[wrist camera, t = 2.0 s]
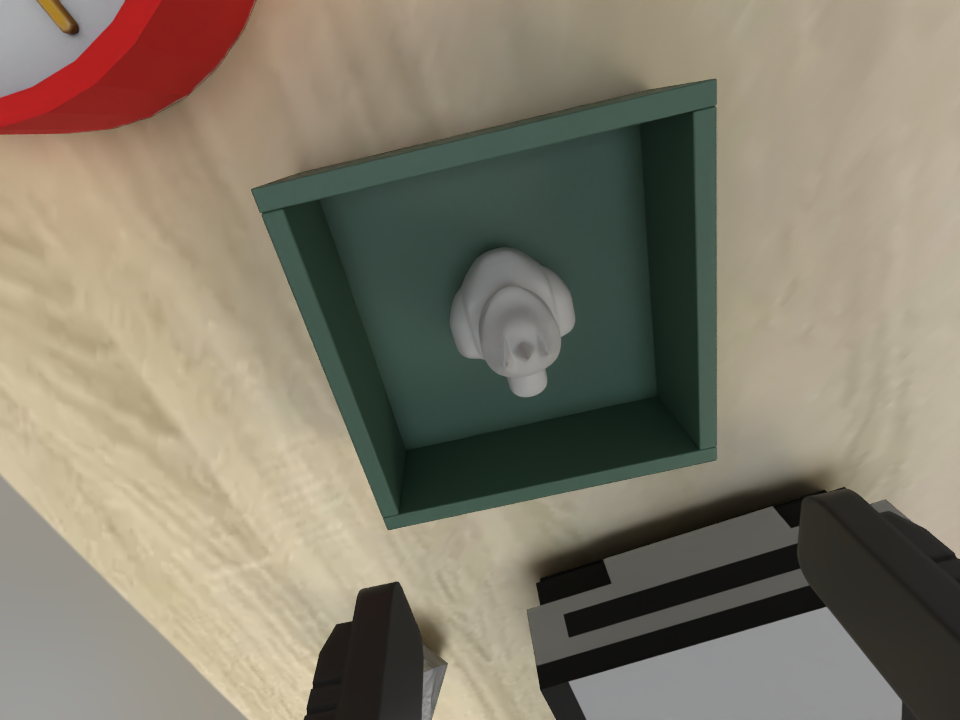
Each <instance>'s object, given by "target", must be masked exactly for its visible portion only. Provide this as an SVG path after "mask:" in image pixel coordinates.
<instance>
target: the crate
mask: <svg viewBox="0 0 960 720" xmlns="http://www.w3.org/2000/svg"><path fill="white" fill-rule="evenodd" d="M716 104H717V80H716V79H710V80H704V81H698V82H692V83H686V84H680V85H674V86H668V87H662V88H656V89H650V90H646V91H642V92H638V93H633V94H629V95H625V96H621V97H617V98H612V99H608V100H604V101H600V102H596V103H591V104H587V105H583V106H579V107H575V108H570V109H566V110H562V111H558V112H554V113H550V114H545V115H541V116H537V117H533V118H529V119H524V120H520V121H516V122H512V123H508V124H503V125H499V126H495V127H491V128H487V129H482V130H478V131H474V132H470V133H466V134H461V135H457V136H453V137H449V138H445V139H440V140H436V141H432V142H428V143H424V144H419V145H415V146H411V147H407V148H403V149H398V150H394V151H390V152H386V153H382V154H377V155H373V156H369V157H365V158H361V159H356V160H352V161H348V162H344V163H340V164H335V165H331V166H327V167H323V168H319V169H315V170H310V171H306V172H302V173H298V174H295V175H291V176H288V177H286V178H283V179H280V180H277V181H274V182H271V183H268V184H265V185H262V186H259V187H256V188H253V189H251V191H252V194H253V196H254V199H255V201H256V204H257V206H258V209H259V211H260V213H262V218H263V220H264V223H265V225H266V228H267V230H268V233H269V235H270V238H271V240H272V243H273V245H274V248H275V250H276V253H277V255H278V258H279V260H280V263H281V265H282V268H283V270H284V273H285V275H286V278H287V280H288V283H289V285H290V287H291V290H292V292H293V295H294V297H295V300H296V302H297V305H298V307H299V310H300V312H301V315H302V317H303V320H304V322H305V325H306V327H307V330H308V332H309V335H310V337H311V340H312V342H313V345H314V347H315V350H316V352H317V355H318V357H319V360H320V362H321V365H322V367H323V370H324V372H325V375H326V377H327V380H328V382H329V385H330V387H331V390H332V392H333V395H334V397H335V400H336V402H337V405H338V407H339V410H340V412H341V415H342V417H343V420H344V422H345V425H346V427H347V430H348V432H349V435H350V437H351V440H352V442H353V445H354V447H355V450H356V452H357V455H358V457H359V460H360V462H361V465H362V467H363V470H364V472H365V475H366V477H367V480H368V482H369V485H370V487H371V490H372V492H373V495H374V497H375V500H376V502H377V505H378V507H379V510H380V512H381V515H382V517H383V520H384V522H385V525H386V527H387V530H392V529H396V528H401V527H406V526H410V525H415V524H420V523H425V522H429V521H434V520H439V519H443V518H448V517H453V516H457V515H462V514H467V513H471V512H476V511H481V510H486V509H490V508H495V507H500V506H504V505H509V504H514V503H518V502H523V501H528V500H532V499H537V498H542V497H546V496H551V495H556V494H561V493H565V492H570V491H575V490H579V489H584V488H589V487H593V486H598V485H603V484H607V483H612V482H617V481H622V480H626V479H631V478H636V477H640V476H645V475H650V474H654V473H659V472H664V471H668V470H673V469H678V468H682V467H687V466H692V465H697V464H701V463H706V462H711V461H715V460H716V459H717V447H716V446H717V305H716V107H715V105H716ZM501 247H509V248H515V249H517V250H519V251H521V252H523V253H525V254H526V255H528V256H530V257H531V258H533V259H534V260H535V261H537V262H538V263H539V264H540V265H542V266H544V267H547V268H549V269H550V270H552V271H553V272H555V273H556V274H557V275H558V276H559V277H560V279H561V280H562V281H563V282H564V283H565V285H566V286H567V288H568V289H569V291H570V293H571V297H572V302H573V308H574V313H575V324H574V327H573V328H572V330H571V331H570V332H568V333H567V334H565V335H564V336H562V337H561V348H560V352H559V355H558V357H557V359H556V360H555V361H554V362H553V363H552V364H551V365H550V366H548V367H547V368H546V369H545V370H546V374H547V385H546V387H545V389H544V390H543V391H542V392H541V393H539V394H537V395H535V396H532V397H520V396H517V395H515V394H514V393H513V392H512V391H511V389H510V387H509V383H508V380H507V377H505V376H502V375H499V374H497V373H496V372H494V371H493V370H492V369H491V368H490V367H489V366H488V364H487V362H486V360H483V359H471V358H466V357H464V356H463V355H461V354H460V353H459V351H458V350H457V347H456V344H455V341H454V338H453V335H452V331H451V328H450V312H451V306H452V302H453V300H454V297H455V295H456V293H457V292H458V290H459V289H460V288H461V286H462V283H463V280H464V278H465V276H466V274H467V272H468V270H469V269H470V267H471V265H472V264H473V262H474V261H475V259H476V258H477V257H479V256H480V255H482V254H483V253H485V252H487V251H489V250H493V249H496V248H501Z"/></svg>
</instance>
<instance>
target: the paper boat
mask: <svg viewBox="0 0 960 720" xmlns="http://www.w3.org/2000/svg"><path fill="white" fill-rule="evenodd" d="M422 645H423V655H424V670H423V697H422V720H432V717H433V713H434V710H435V706H436V703H437V699H438V696H439V693H440V689H441V686H442V682H443V679H444V675H445V672H446V668H447V665H448V663H447V662H445V661H444V660H443V659H442V658H440V657H439V656H438V655H436V654H435V653H434V652H433V651H431V650H430V649H429V648H427V647H426V646H425V645H424V644H422Z"/></svg>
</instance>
